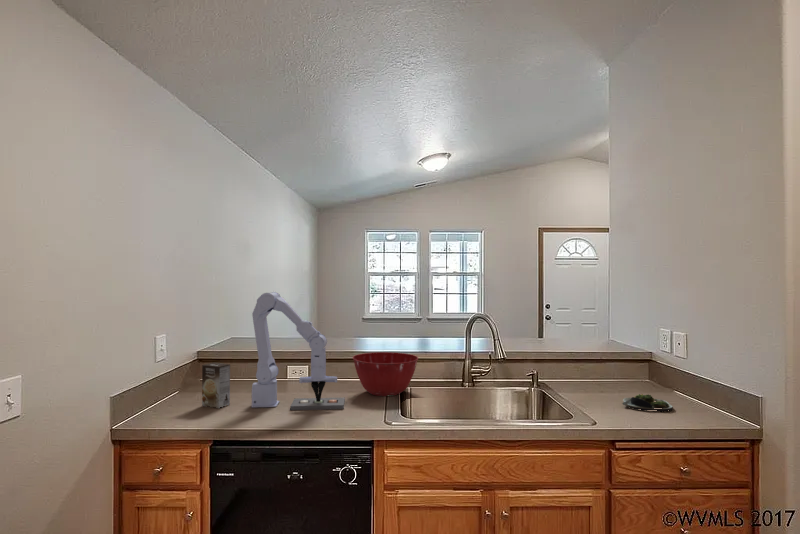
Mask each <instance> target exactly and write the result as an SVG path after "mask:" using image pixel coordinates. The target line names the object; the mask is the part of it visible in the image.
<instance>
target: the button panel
mask: <svg viewBox="0 0 800 534" xmlns="http://www.w3.org/2000/svg"><path fill="white" fill-rule="evenodd" d="M302 400H308V403H300V401H302ZM315 400H316V397H308V398H306V397H304V398H300V397H299V398H294V399H293V401H292V402H291V404H290V407H289V408H290V409H289V410H290V411H314V410H315V411H318V410H321V411H322V410H344V408H345V402H346V397H321V400H322V401H323V403H314V401H315ZM329 400H337V403H329Z"/></svg>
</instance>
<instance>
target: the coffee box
mask: <svg viewBox="0 0 800 534" xmlns="http://www.w3.org/2000/svg"><path fill="white" fill-rule="evenodd" d="M201 367H202V371H201V373H202V374H201V375H202V376H201V377H202V378H201V384H202V385H201V406H202V405H203V406H202V407H207V406H210V407H209V408H213V407H216V408H215V409H221V408H220V407H222V408H224V407H223V406H225V407H227V406H226V405H228V406H230V405H231V402H230V401H231V364H228V363H220V362H210V363H206V364H202V366H201ZM229 404H230V405H229Z"/></svg>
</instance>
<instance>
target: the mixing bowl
mask: <svg viewBox="0 0 800 534" xmlns="http://www.w3.org/2000/svg"><path fill="white" fill-rule="evenodd" d="M352 359H353V363H354V368H355V372H356V374H357V376H358V379H359V381H360V383H361V386H362V388H364V390H365V391H367V392H368V393H369V394H370V395H373V396H376V397H388V396H387V395H394V396H398V395H400V394H401V393H402V392H404V391H406V389H407V388H408V387H409V385H410V383H411V381H412V378H413V376H414V373H415V371H416V367H417V365H418V364H417V363H418V361H419V357H418V356H417V355H415V354H410V353H402V352H390V351H389V352H386V351H385V352H382V351H380V352H379V351H378V352H366V353H365V352H364V353H359V354H355V355H353V356H352ZM397 394H398V395H397Z"/></svg>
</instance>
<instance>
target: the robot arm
mask: <svg viewBox="0 0 800 534" xmlns="http://www.w3.org/2000/svg"><path fill="white" fill-rule="evenodd" d="M272 311H277V312H280V313H282V314H284V315H285V316H286V317H287V318H288V319H289V320H290V321H291V323H293V324H294V325H295V327H296V332H297V333H298V334H299V335H300V336H301V337H302V338H303V339H304V340H305V341H306V342H307V343H308V346H309V348H310V349H311V351H310V353H311V354H310V376H300V377H299V378H298V379H299V380H298V381H299V384H303V383H307V384H308V383H310V385H311V388H312V390H313V393H314V395H315V398H316V402H320V400H321V398H322V393H323V390H324V387H325V385H326V383H338V376H332V375H331V376H330V375H327V367H326V366H327V365H326V364H327V357H326V356H327V354H326V353H327V352H326V351H327V349H326V346H327V343H328V339H327V338H326V336H325V334H322V333H321V331H320V330H318V329H316V328H315V327H314V326H313V325H314V324H313V322H312V321H309V320H308V319H307V320H306V319H303V318H302V317H301V316H300V315H299V314H298V313H297V311H296V310H294V308H293V307H292V306H291V304H289V302H288V301H286V299H285V298H284V297H283V296H281V295H280V294H279V293H278V292H276V291H270V292H264V293H262V294H261V295H260V296H259V297H258V298H257V299H256V303H255V306H254V309H253V311H252V312H251V313H252V314H251V316H252V322H253V329H254V337H255V341H256V343H255V344H256V350H257V356H258V357H257V358H258V361H257V365H256V368H257V369H256V373H255V378H256V380H257V382H253V383H252V386H251V408H276V407H277V406H278V405H279V403H280V400H278V380H277V376H278V375H279V371H280V370H279V368H278V366H277V364H276V360H275V358H274V356H273V354H272V346H271V340H270V338H271V337H270V332H269V325H268V321H267V320H268V319H267V317H268V316H269V314H270V313H271V312H272Z"/></svg>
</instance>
